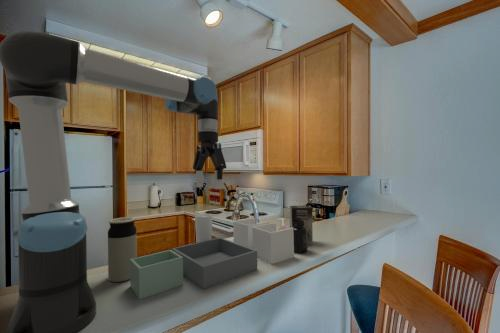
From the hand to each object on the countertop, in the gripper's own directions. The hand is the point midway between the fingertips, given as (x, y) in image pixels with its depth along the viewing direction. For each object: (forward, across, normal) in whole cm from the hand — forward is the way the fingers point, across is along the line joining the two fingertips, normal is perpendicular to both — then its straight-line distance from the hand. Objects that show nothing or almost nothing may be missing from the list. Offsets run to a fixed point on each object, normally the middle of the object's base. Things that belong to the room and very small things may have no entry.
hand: (208, 188), depth 93 cm
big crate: (+26, -9, +4) cm, 28 cm away
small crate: (+27, -9, +23) cm, 36 cm away
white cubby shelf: (+26, -8, -19) cm, 34 cm away
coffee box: (+26, -12, -39) cm, 49 cm away
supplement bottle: (+26, -18, -30) cm, 44 cm away
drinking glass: (+26, +6, -2) cm, 27 cm away
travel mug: (+27, +4, +28) cm, 39 cm away
